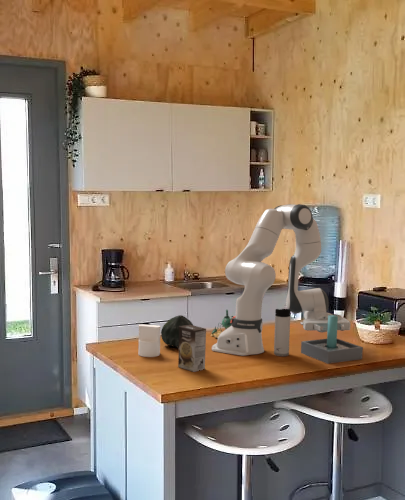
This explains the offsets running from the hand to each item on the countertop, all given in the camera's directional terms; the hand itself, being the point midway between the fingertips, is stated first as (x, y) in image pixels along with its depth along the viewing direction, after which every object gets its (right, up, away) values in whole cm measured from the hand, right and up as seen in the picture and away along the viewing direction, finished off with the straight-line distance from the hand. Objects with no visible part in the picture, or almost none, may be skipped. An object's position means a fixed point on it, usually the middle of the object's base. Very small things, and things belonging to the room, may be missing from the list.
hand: (332, 328), depth 267 cm
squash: (-65, -9, +12) cm, 67 cm away
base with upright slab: (-77, -10, -2) cm, 77 cm away
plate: (0, -12, +1) cm, 12 cm away
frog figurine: (-44, -8, +28) cm, 53 cm away
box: (0, -12, +1) cm, 12 cm away
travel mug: (-21, -11, +1) cm, 24 cm away
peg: (0, -11, +1) cm, 11 cm away
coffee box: (-59, -13, -21) cm, 64 cm away
